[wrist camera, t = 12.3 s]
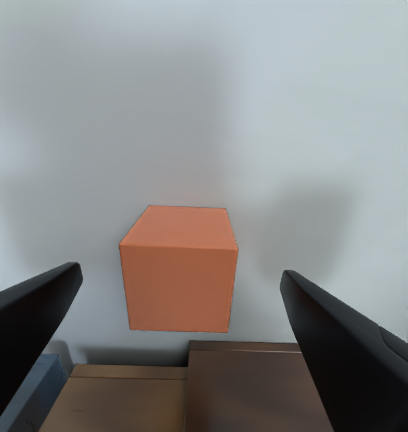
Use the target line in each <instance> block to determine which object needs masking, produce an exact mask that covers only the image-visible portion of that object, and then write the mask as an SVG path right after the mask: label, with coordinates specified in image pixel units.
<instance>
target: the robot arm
mask: <svg viewBox="0 0 408 432" xmlns="http://www.w3.org/2000/svg"><path fill="white" fill-rule="evenodd" d="M82 282H83V276H82V271H81V267H80V264H79V263H77V262H68V263H65V264H63V265H61V266H58V267H56V268H54V269H51V270H49V271H47V272H44V273H42V274H40V275H38V276H35V277H33V278H31V279H28V280H26V281H24V282H21V283H19V284H17V285H14V286H12V287H10V288H7V289H5V290H3V291H1V292H0V417H1V415H2V414H3V412H4V411H5V409H6V408H7V406H8V405H9V403H10V401H11V400H12V398H13V397H14V395H15V394H16V392H17V391H18V389H19V387H20V386H21V384H22V383H23V381H24V380H25V378H26V377H27V375H28V373H29V372H30V370H31V369H32V367H33V366H34V364H35V362H36V361H37V359H38V358H39V356H40V355H41V353H42V352H43V350H44V348H45V347H46V345H47V344H48V342H49V341H50V339H51V338H52V336H53V334H54V333H55V331H56V330H57V328H58V327H59V325H60V323H61V322H62V320H63V319H64V317H65V315H66V313H67V312H68V310H69V308H70V306H71V304H72V302H73V300H74V298H75V296H76V294H77V292H78V290H79V288H80V286H81V284H82ZM280 291H281V294H282V298H283V301H284V305H285V308H286V312H287V315H288V319H289V322H290V325H291V327H292V330H293V332H294V335H295V337H296V340H297V342H298V345H299V347H300V350H301V352H302V355H303V357H304V360H305V362H306V364H307V367H308V369H309V372H310V374H311V377H312V379H313V382H314V384H315V387H316V389H317V392H318V394H319V397H320V399H321V401H322V404H323V406H324V409H325V411H326V414H327V416H328V419H329V421H330V424H331V426H332V429H333V431H334V432H408V343H406V342H405V341H403V340H401V339H400V338H398V337H397V336H395V335H393V334H392V333H390V332H389V331H387V330H386V329H384V328H383V327H381V326H378V324H376V323H375V322H373V321H372V320H370V319H368V318H367V317H365V316H364V315H362V314H361V313H359V312H358V311H356V310H354V309H353V308H351V307H350V306H348V305H347V304H345V303H344V302H342V301H340V300H339V299H337V298H336V297H334V296H333V295H331V294H330V293H328V292H326V291H325V290H323V289H322V288H320V287H319V286H317V285H316V284H314V283H312V282H311V281H309V280H308V279H306V278H305V277H303V276H302V275H300V274H298V273H297V272H295V271H293V270H285V271H284V272H283V274H282V279H281V283H280Z"/></svg>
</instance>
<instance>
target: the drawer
mask: <svg viewBox="0 0 408 432" xmlns="http://www.w3.org/2000/svg"><path fill="white" fill-rule="evenodd" d="M187 374H188V367H166V366H129V365H93V364H76V365H75V367H74V369H73V370H72V372H71V374H70V377H69V378H68V380H67V378H66V375H65V372H64V369H63V366H62V363H61V360H60V357H59V355H58V354H42V355H41V356H40V357H39V358H38V360H37V361H36V363H35V364H34V366H33V367H32V369H31V370H30V372H29V373H28V375H27V377H26V378H25V380H24V381H23V383H22V384H21V386H20V387H19V389H18V391H17V392H16V394H15V395H14V397H13V398H12V400H11V401H10V403H9V405H8V406H7V408H6V409H5V411H4V412H3V414H2V415H1V417H0V432H184V418H185V404H186V389H187Z"/></svg>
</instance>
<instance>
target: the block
mask: <svg viewBox="0 0 408 432" xmlns="http://www.w3.org/2000/svg"><path fill="white" fill-rule="evenodd" d="M119 250H120V258H121V265H122V273H123V281H124V288H125V296H126V303H127V311H128V319H129V326H130V330H152V331H185V332H217V333H227V332H228V328H229V320H230V312H231V304H232V296H233V288H234V280H235V272H236V264H237V256H238V247H237V243H236V240H235V237H234V234H233V230H232V227H231V224H230V220H229V217H228V214H227V211H226V209H223V208H199V207H175V206H151V205H150V206H148V208H147V209H146V210H145V211H144V213H143V214H142V215H141V217H140V218H139V219H138V220H137V222H136V223H135V224H134V225H133V227H132V228H131V229H130V231H129V232H128V233H127V234H126V236H125V237H124V238H123V239H122V241H121V242H120V243H119Z"/></svg>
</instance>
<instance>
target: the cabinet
mask: <svg viewBox="0 0 408 432" xmlns="http://www.w3.org/2000/svg"><path fill="white" fill-rule="evenodd" d="M184 432H334V431H333V429H332V426H331V424H330V421H329V419H328V416H327V414H326V411H325V409H324V406H323V404H322V401H321V399H320V397H319V394H318V392H317V389H316V387H315V384H314V382H313V379H312V377H311V374H310V372H309V369H308V367H307V364H306V362H305V360H304V357H303V355H302V352H301V350H300V347H299V345H298V344H287V343H253V342H220V341H190V345H189V360H188V374H187V389H186V404H185V418H184Z"/></svg>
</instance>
